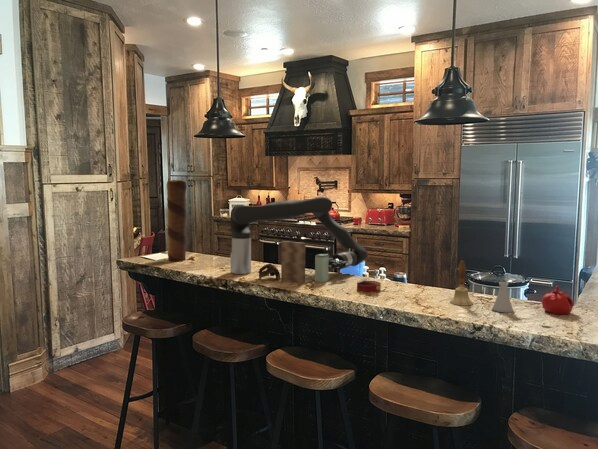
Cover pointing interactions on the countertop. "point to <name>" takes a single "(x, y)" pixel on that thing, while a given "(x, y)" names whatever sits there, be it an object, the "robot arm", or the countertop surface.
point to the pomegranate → (557, 302)
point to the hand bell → (461, 289)
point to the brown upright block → (293, 263)
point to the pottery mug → (269, 271)
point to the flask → (503, 300)
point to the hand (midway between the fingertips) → (324, 265)
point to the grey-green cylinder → (321, 267)
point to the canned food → (369, 285)
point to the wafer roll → (176, 219)
